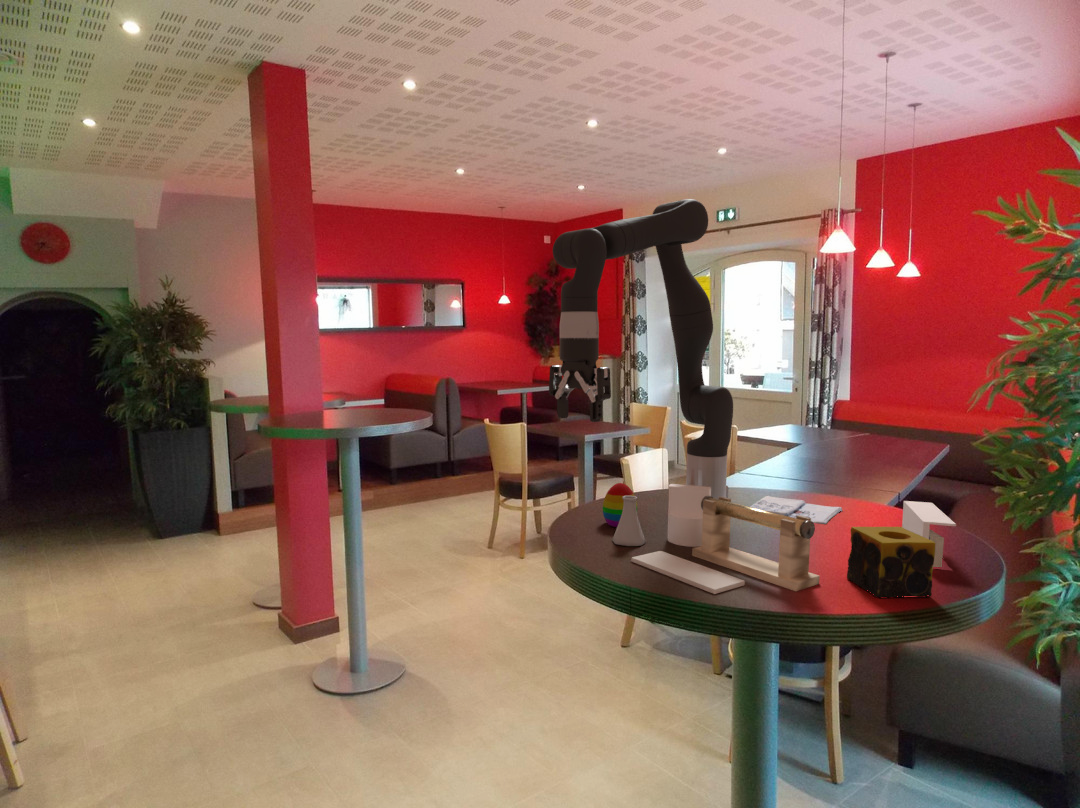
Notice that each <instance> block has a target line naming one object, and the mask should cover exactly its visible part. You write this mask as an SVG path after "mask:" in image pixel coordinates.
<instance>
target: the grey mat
mask: <svg viewBox="0 0 1080 808" xmlns="http://www.w3.org/2000/svg"><path fill="white" fill-rule="evenodd" d="M630 561H631V563H635V564H636V565H640V566H642V567H644V568H646V569H648V570H649V569H650V570H653V571H655V572H657V573H660V574H661V575H664V576H665V575H666V576H667V577H670V578H672V579H674V580H677V581H680V582H683V583H685V584H687V585H691V586H693V587H695V588H697V589H700V590H704V591H706V592H708V593H711V594H713V595H716V594H719V593H723V592H726V591H727V592H728V591H729V590H730V591H731V590H734V589H737V588H739V587H743V586H745V585H746V581H745V580H743V579H740V578H738V577H735V576H732V575H729V574H727V573H724V572H721V571H718V570H717V569H713V568H710V567H708V566H704V565H702V564H700V563H696V562H694V561H690V560H688V559H684V558H683V557H679V556H677V555H674V554H670V553H668V552H665V551H662V550H658V551H654V552H649V553H644V554H641V555H637V556H632V557H631V560H630Z"/></svg>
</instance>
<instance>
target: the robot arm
mask: <svg viewBox="0 0 1080 808" xmlns="http://www.w3.org/2000/svg"><path fill="white" fill-rule="evenodd" d="M708 227H709V215H708V211H707V209H706V207H705V205H704V204H703V203H701V202H700V201H698V200H696V199H693V198H690V199H689V198H685V199H680V200H676V201H670V202H665V203H661V204H660V205H657V206H656V207H655V209H654V210H653V212H652V214H648V215H642V216H635V217H628V218H624V219H623V218H622V219H619V220H615V221H610V222H607V223H603V224H600V225H597V226H595V227H589V228H583V229H576V230H571V231H570V230H569V231H566V232H563V233H561V234H560V235H559V236H558V237H557V238H556V239H555V241H554V243H553V245H552V255H553V258H554V260H555V262H556V263H557V265H559V266H560V267H562V268H565V269H569V270H572V269H575V272H574V275H573V277H572V279H570V280H568V281H566V282H564V283H563V284H562V286H561V291H560V321H559V360H560V361H562V363H561V364H560V365H559V364H555V365H550V366H549V380H548V381H549V382H548V394H549V396H553V397H555V399H556V414H557V417H558V419H568V417H569V399H568V397H569V395H570V393H571V392H572V391H573V390H575V389H578V390H583V392H584V393H585V394H587V396H588V397H589V400H590V401H591V402H590V403H589V421H590V422H591V423H599V422H600V421H601V419H602V417H603V402H604V401H606V400H609V399H611V398H612V387H611V386H612V385H611V383H612V382H611V368H610V367H608V366H605V367H601V366H600V367H597V361H598V360H599V357H600V356H599V355H600V354H599V349H600V348H599V345H600V343H599V342H600V341H599V338H600V336H599V333H600V327H599V325H600V322H599V314H598V305H599V303H598V299H599V298H598V296H599V295H598V292H599V286H600V285H601V282H602V281H601V280H602V276H603V273H604V268H605V263H606V262H607V261H606V260H613V259H617V258H621V257H625V256H628V255H631V254H634V253H638V252H641V251H643V250H646V249H649V248H653V247H655V249H656V253H657V257H658V262H659V265H660V269H661V274H662V277H663V283H664V287H665V289H664V290H665V293H666V299H667V306H668V313H669V314H668V315H669V320H670V326H671V331H672V336H673V337H672V338H673V341H674V348H675V355H676V363H677V374H678V389H679V390H678V391H679V392H678V393H679V401H680V402H679V404H680V405H679V406H680V410H681V413H682V416H683V417H684V418H685V420H686V421H687V422H688V423H691V424H697V425H702V426H704V427H703V431H702V435H701V436H699V437H697V438H694V439H690V440H688V442H687V444H686V469H685V473H686V474H685V485H693V486H706V487H711V497H713V498H715V499H719V497H726V498H729V486H728V485H727V471H728V469H727V468H728V467H727V465H728V463H727V462H728V450H729V446H730V443H731V439H732V438H731V437H732V427H733V418H734V400H733V395H732V393H731V392H730V390H729V389H728V388H726V387H725V386H716V385H705V381H704V377H703V376H704V375H703V360H704V357H705V353H706V351H707V349H708V347H709V344H710V342H711V339H712V335H713V332H714V321H713V315H712V314H713V313H712V308H711V307H712V306H711V303H710V299H709V295H708V293H706V291H705V290H704V288H703V286H702V285H701V284H700V283H699V281H698V280H697V279H696V277H695V276H694V275H693V274H692V272H691V270H690V269H689V267H688V265H687V263H686V260H685V257H684V251H683V247H682V245H686V244H691V243H694V242H697V241H699V240H700V239H702V237H703V236H704V235H705V234H706V233H707V230H708Z"/></svg>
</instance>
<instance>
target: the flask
mask: <svg viewBox="0 0 1080 808" xmlns="http://www.w3.org/2000/svg"><path fill="white" fill-rule="evenodd" d="M622 498H623V500H624V507H623V512H622V516H621V518H620V521H619V524H618V527H616V530H615V533H614V535H613V537H612V540H611V541H613V543H614V544H615V545H617V546H618V545H619V546H625V547H639V546H640V547H642V546H643V545H644V544H646V542H647V541H646V538H645V536H644V532H643V529H642V526H641V524H640V520H639V517H638V509H637V510H636V501H637V500H638V497H637V496H636V495H635V496H623V497H622Z"/></svg>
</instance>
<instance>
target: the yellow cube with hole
mask: <svg viewBox="0 0 1080 808" xmlns="http://www.w3.org/2000/svg"><path fill="white" fill-rule="evenodd" d="M850 545H851V546H850V548H851V549H850V553H849V557H848V560H847V571H846V572H847V573H846V579H847V580H849V579H850V580H851V581H850V580H849V581H850V582H852V581H853V582H854V583H856V584H857V586H858V585H859V586H860V587H859V586H858V587H859V588H861V587H862V589H863V590H864V589H865V590H864V591H866V590H868V591H870V592H871V593H872V594H874V595H873V596H874V597H875V596H876V597H875V598H877V597H897V596H898V597H902V596H903V597H904V596H927V595H929V596H931V597H932V590H933V589H932V588H933V571H934V570H933V563H934V557H935V542H933V541H931V540H929V539H927V538H924V537H922V536H920V535H918V534H916V533H913V532H911V531H908V530H906V529H904V528H903V527H902V526H851V528H850ZM853 582H852V583H853ZM856 584H855V585H856ZM868 591H867V592H868ZM871 593H870V594H871ZM872 594H871V595H872Z"/></svg>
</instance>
